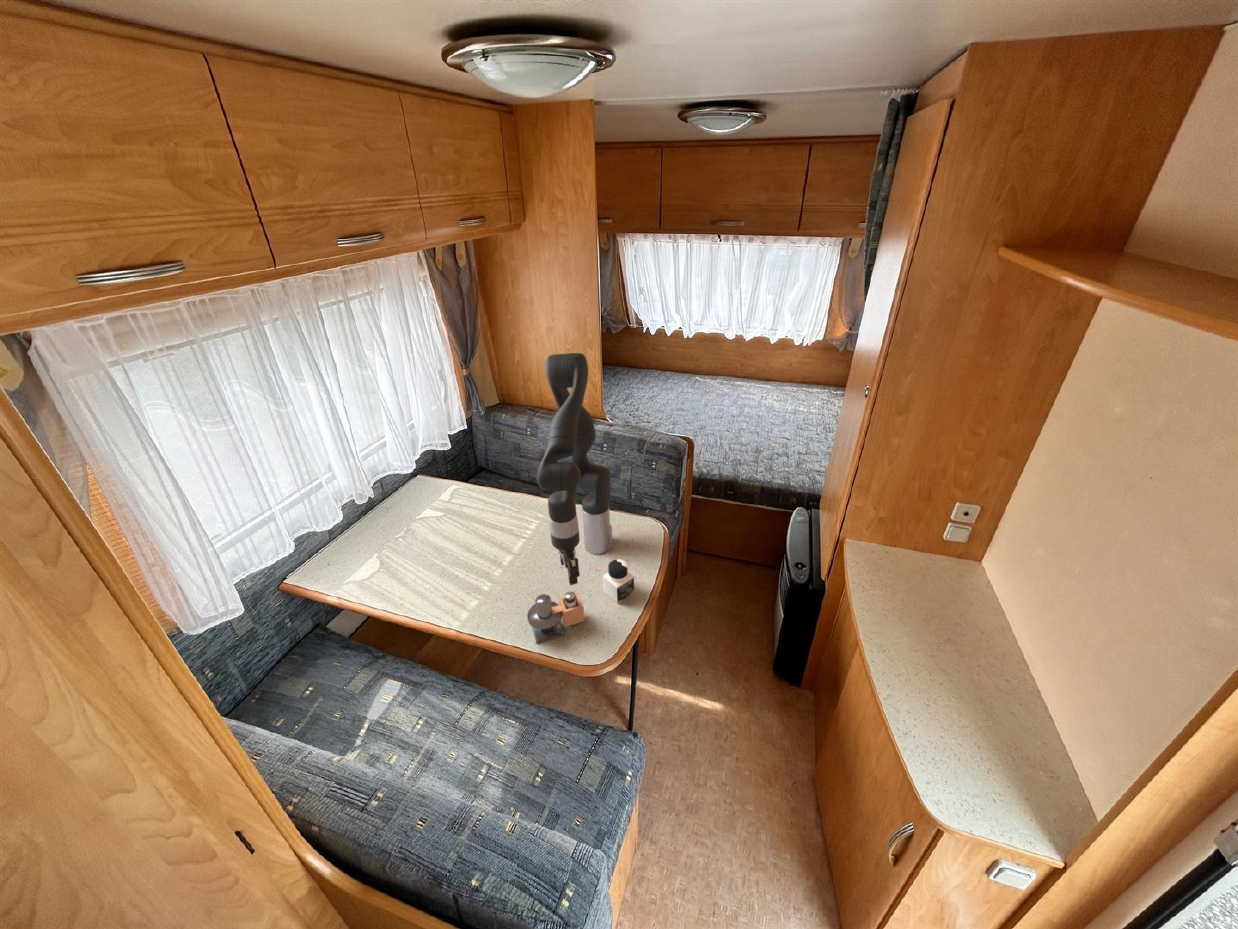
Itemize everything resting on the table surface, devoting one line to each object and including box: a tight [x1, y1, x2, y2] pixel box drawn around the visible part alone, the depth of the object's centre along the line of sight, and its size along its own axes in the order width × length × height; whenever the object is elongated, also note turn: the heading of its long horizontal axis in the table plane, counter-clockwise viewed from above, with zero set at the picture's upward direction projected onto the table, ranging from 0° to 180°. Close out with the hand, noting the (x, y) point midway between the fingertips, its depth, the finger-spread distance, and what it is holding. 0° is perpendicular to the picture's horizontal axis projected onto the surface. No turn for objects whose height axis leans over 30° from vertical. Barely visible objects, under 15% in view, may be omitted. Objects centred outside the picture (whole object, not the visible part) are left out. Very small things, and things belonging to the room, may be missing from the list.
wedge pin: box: [564, 591, 578, 627], centre depth 151 cm, size 3×3×11 cm
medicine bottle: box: [602, 558, 635, 604], centre depth 161 cm, size 7×7×12 cm
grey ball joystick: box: [527, 594, 564, 644], centre depth 149 cm, size 10×10×12 cm
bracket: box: [552, 592, 585, 627], centre depth 151 cm, size 9×6×6 cm, turn 111°
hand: (569, 573), depth 144 cm, fingers open, 8 cm apart
